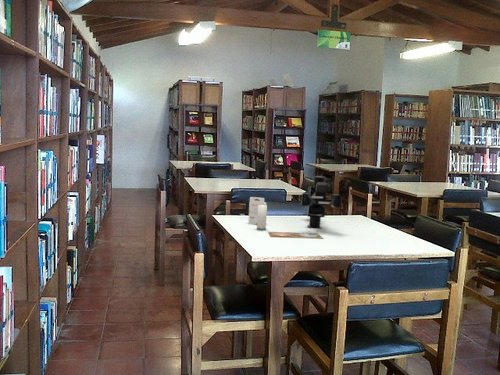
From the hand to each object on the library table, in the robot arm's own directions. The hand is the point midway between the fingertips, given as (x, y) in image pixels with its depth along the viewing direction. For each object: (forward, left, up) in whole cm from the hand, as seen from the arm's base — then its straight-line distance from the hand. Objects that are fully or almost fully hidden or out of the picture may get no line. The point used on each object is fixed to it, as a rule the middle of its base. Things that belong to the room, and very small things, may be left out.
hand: (323, 203), depth 245 cm
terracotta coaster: (0, -19, -16) cm, 25 cm away
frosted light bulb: (-11, -28, -17) cm, 34 cm away
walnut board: (0, -13, -17) cm, 21 cm away
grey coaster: (0, -6, -16) cm, 17 cm away
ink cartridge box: (-31, -28, -17) cm, 45 cm away
